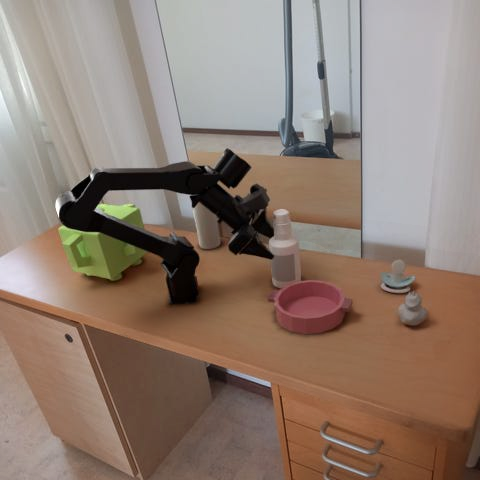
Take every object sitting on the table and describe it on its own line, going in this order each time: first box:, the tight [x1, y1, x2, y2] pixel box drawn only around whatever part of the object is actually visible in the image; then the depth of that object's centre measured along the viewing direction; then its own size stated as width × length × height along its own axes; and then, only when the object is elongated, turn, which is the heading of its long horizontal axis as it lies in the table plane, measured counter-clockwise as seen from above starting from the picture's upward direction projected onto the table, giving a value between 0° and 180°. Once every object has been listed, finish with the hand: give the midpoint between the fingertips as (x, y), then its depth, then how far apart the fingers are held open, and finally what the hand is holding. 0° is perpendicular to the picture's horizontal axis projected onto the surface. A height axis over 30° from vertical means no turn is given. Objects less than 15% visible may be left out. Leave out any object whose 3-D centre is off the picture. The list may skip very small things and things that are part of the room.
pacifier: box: [380, 259, 416, 294], centre depth 108 cm, size 7×6×6 cm
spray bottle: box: [268, 208, 302, 290], centre depth 113 cm, size 7×7×18 cm
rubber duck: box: [397, 290, 428, 327], centre depth 97 cm, size 5×7×8 cm
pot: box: [267, 279, 354, 335], centre depth 105 cm, size 18×15×4 cm
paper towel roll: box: [192, 203, 221, 250], centre depth 134 cm, size 7×6×21 cm
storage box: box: [57, 203, 149, 282], centre depth 131 cm, size 25×23×17 cm
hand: (275, 248), depth 113 cm, fingers open, 9 cm apart
